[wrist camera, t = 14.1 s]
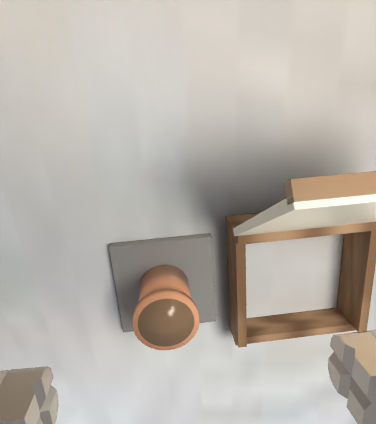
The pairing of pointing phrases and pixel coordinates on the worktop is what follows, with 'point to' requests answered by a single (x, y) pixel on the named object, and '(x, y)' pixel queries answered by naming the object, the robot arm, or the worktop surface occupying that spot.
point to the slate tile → (164, 255)
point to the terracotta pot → (165, 309)
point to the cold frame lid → (318, 204)
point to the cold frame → (310, 320)
